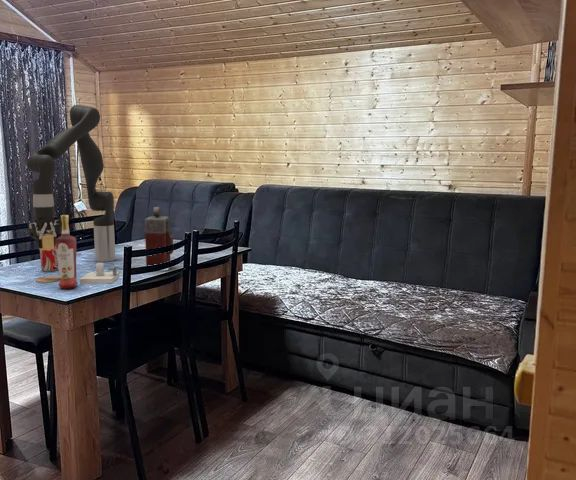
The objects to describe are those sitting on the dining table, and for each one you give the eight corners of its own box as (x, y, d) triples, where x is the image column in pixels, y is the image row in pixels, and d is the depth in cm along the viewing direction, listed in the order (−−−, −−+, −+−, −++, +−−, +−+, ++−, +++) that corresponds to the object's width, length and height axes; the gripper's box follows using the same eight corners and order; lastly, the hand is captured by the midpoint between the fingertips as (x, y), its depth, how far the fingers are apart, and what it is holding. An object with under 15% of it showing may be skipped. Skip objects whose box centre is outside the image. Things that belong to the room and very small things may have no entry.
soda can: (52, 272, 225) (50, 245, 223) (37, 271, 226) (35, 244, 224) (62, 269, 232) (60, 242, 230) (48, 268, 233) (46, 242, 231)
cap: (52, 247, 214) (51, 232, 213) (56, 249, 207) (56, 235, 206) (37, 248, 210) (36, 233, 209) (41, 251, 204) (40, 236, 203)
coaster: (41, 277, 216) (41, 276, 216) (63, 277, 216) (63, 275, 216) (32, 282, 207) (32, 281, 207) (55, 282, 208) (55, 281, 208)
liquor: (81, 285, 204) (78, 214, 199) (74, 290, 196) (70, 216, 192) (62, 285, 204) (58, 214, 199) (54, 289, 196) (50, 216, 192)
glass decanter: (171, 271, 230) (170, 208, 226) (146, 270, 230) (144, 207, 225) (175, 266, 239) (174, 206, 234) (151, 266, 239) (149, 205, 234)
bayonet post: (89, 276, 218) (89, 260, 217) (119, 276, 219) (119, 260, 218) (80, 283, 206) (79, 266, 205) (112, 283, 207) (111, 266, 206)
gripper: (34, 207, 199) (37, 250, 202) (65, 204, 212) (67, 245, 214) (21, 206, 202) (24, 249, 205) (52, 203, 215) (54, 243, 218)
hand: (46, 247), depth 210 cm, fingers closed on cap, 5 cm apart
